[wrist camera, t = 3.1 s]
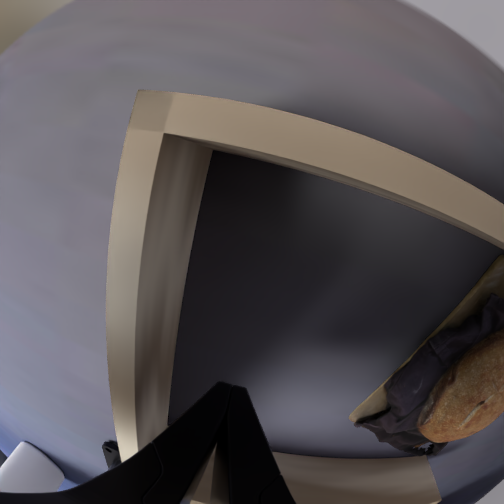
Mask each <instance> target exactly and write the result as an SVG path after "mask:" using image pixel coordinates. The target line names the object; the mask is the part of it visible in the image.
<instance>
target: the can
mask: <svg viewBox="0 0 504 504" xmlns="http://www.w3.org/2000/svg"><path fill="white" fill-rule="evenodd" d="M64 478H65V477H64V473H63V471H62V470H61V469H60V468H59V467H58V466H57V465H56V464H55V463H54V462H53V461H52V460H51V459H50V458H49V457H48V456H46V455H45V454H44V453H43V452H42V451H40V450H39V449H38V448H36V447H35V446H33V445H32V444H30V443H28V442H21V443H20V444H19V445H18V446H17V447H16V449H15V450H14V451H13V452H12V454H11V455H10V456H9V457H8V459H7V460H6V461H5V463H4V464H3V465H2V466H1V468H0V492H11V493H46V492H57V490H58V489H59V487H60V485H61V484H62V482H63V480H64Z"/></svg>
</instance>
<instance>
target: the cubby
mask: <svg viewBox="0 0 504 504" xmlns="http://www.w3.org/2000/svg"><path fill="white" fill-rule="evenodd" d="M213 150H217V151H221V152H226V153H231V154H235V155H240V156H244V157H248V158H253V159H257V160H261V161H265V162H269V163H273V164H277V165H281V166H284V167H288V168H292V169H296V170H299V171H303V172H306V173H310V174H313V175H317V176H320V177H323V178H327V179H330V180H333V181H336V182H339V183H343V184H346V185H349V186H352V187H355V188H358V189H361V190H364V191H367V192H370V193H372V194H375V195H378V196H381V197H384V198H386V199H389V200H392V201H395V202H397V203H400V204H402V205H405V206H408V207H410V208H413V209H415V210H418V211H420V212H423V213H425V214H428V215H430V216H432V217H435V218H437V219H440V220H442V221H444V222H446V223H449V224H451V225H453V226H455V227H458V228H460V229H462V230H464V231H466V232H469V233H471V234H473V235H475V236H477V237H479V238H481V239H483V240H485V241H487V242H489V243H491V244H493V245H495V246H497V247H499V248H501V249H503V250H504V204H502V203H501V202H499V201H498V200H496V199H494V198H493V197H491V196H490V195H488V194H486V193H485V192H483V191H481V190H480V189H478V188H476V187H474V186H473V185H471V184H469V183H467V182H465V181H464V180H462V179H460V178H458V177H456V176H454V175H452V174H451V173H449V172H447V171H445V170H443V169H441V168H439V167H437V166H435V165H433V164H431V163H428V162H426V161H424V160H422V159H420V158H418V157H415V156H413V155H411V154H409V153H406V152H404V151H402V150H399V149H397V148H395V147H392V146H390V145H387V144H385V143H382V142H380V141H377V140H375V139H372V138H369V137H366V136H364V135H361V134H358V133H355V132H352V131H350V130H347V129H344V128H341V127H338V126H334V125H331V124H328V123H325V122H321V121H318V120H315V119H311V118H308V117H304V116H300V115H297V114H293V113H289V112H285V111H281V110H277V109H272V108H268V107H264V106H259V105H254V104H249V103H244V102H239V101H233V100H228V99H222V98H215V97H209V96H202V95H194V94H186V93H176V92H166V91H153V90H138V91H137V95H136V98H135V102H134V105H133V109H132V113H131V117H130V121H129V125H128V129H127V133H126V137H125V142H124V146H123V151H122V156H121V161H120V166H119V172H118V178H117V183H116V190H115V196H114V203H113V211H112V219H111V228H110V238H109V249H108V263H107V284H106V340H107V360H108V374H109V385H110V394H111V403H112V410H113V418H114V424H115V430H116V436H117V442H118V447H119V452H120V457H121V461H122V462H124V461H125V460H127V459H129V458H130V457H131V456H133V455H134V454H136V453H137V452H138V451H140V450H141V449H142V448H143V447H145V446H146V445H147V444H148V443H150V442H151V441H152V440H153V439H154V438H156V437H157V436H158V435H159V434H160V433H162V432H163V431H164V430H165V429H166V428H167V427H169V426H168V425H167V422H168V410H169V400H170V390H171V380H172V372H173V363H174V355H175V347H176V340H177V333H178V326H179V319H180V312H181V306H182V299H183V293H184V287H185V281H186V275H187V269H188V264H189V258H190V253H191V248H192V242H193V237H194V232H195V227H196V222H197V217H198V213H199V208H200V203H201V198H202V194H203V189H204V185H205V181H206V176H207V172H208V168H209V163H210V159H211V155H212V151H213ZM216 444H217V443H216ZM215 449H216V446H215V448H214V451H213V454H212V456H211V458H210V460H209V463H208V465H207V467H206V469H205V472H204V474H203V476H202V478H201V481H200V483H199V485H198V487H197V489H196V492H195V494H194V496H193V498H192V500H191V502H190V504H210V495H211V485H212V475H213V466H214V456H215ZM272 453H273V455H274V458H275V460H276V462H277V465H278V467H279V469H280V471H281V474H280V475H282V476H283V478H284V480H285V482H286V485H287V487H288V489H289V491H290V493H291V495H292V497H293V498H294V500H295V502H296V503H297V504H437V503H439V502H440V501H441V500H442V499H441V496H440V493H439V490H438V487H437V484H436V481H435V479H434V476H433V473H432V470H431V468H430V465H429V462H428V460H427V457H426V455H423V456H414V457H402V458H383V459H344V458H325V457H312V456H302V455H293V454H286V453H279V452H272Z"/></svg>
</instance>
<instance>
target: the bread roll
mask: <svg viewBox="0 0 504 504" xmlns="http://www.w3.org/2000/svg"><path fill="white" fill-rule="evenodd" d="M381 411H383V413H380V414H378V413H379V412H381ZM502 412H504V255H499V256H498V258H497V259H496V260H495V261H494V262H493V264H492V265H491V266H490V267H489V269H488V270H487V271H486V272H485V273H484V274H483V276H482V277H481V278H480V280H479V281H478V282H477V284H476V285H475V286H474V287H473V288H472V289H471V291H470V292H469V293H468V294H467V295H466V296H465V298H464V299H463V300H462V301H461V302H460V303H459V305H458V306H457V307H456V308H455V309H454V310H453V311H452V312H451V313H450V314H449V316H448V317H447V318H446V319H445V320H444V321H443V322H442V323H441V324H440V325H439V326H438V328H437V329H436V330H435V331H434V332H433V333H432V334H431V335H430V336H429V337H428V338H427V339H426V340H425V341H424V342H423V343H422V344H421V345H420V346H419V348H418V349H417V350H416V351H415V352H414V353H413V354H412V355H411V356H410V357H409V358H408V359H407V360H406V361H405V362H404V363H403V364H402V365H401V366H400V367H399V368H398V369H397V370H396V371H395V372H394V373H393V374H392V375H391V376H390V377H389V378H388V379H387V380H386V381H385V382H383V383H382V384H381V385H380V386H379V387H378V388H377V389H376V390H375V391H374V392H373V393H372V394H371V395H370V396H369V397H368V398H367V399H366V400H365V401H364V402H362V403H361V404H360V405H359V406H358V407H357V408H356V409H355V410H354V411H353V412H352V413H351V414H350V416H349V419H350V420H351V421H353V422H355V423H354V425H355V427H360V426H362V427H364V428H367V429H369V430H370V431H372V432H374V433H375V434H376V436H377V437H378V439H379V442H388V443H389V444H390V445H392V446H393V447H395V448H397V449H399V450H403V451H404V452H407V453H409V454H412V455H416V456H423V455H427V456H431V455H437V454H438V453H439V452H440V451H441V450H442V449H443V448H444V447H445V446H446V445H447V443H448V442H449V441H454V440H457V439H461V438H465V437H468V436H470V435H472V434H475V433H477V432H479V431H480V430H482V429H484V428H485V427H487V426H488V425H489V424H491V423H492V422H493V421H494V420H496V419H497V418H498V417H499V416H500V414H501V413H502ZM427 442H431V443H432V444H431V445H429V446H430V447H431V448H430V447H428V450H427V451H426V452H425V451H424V450H425V449H426V448H423V449H422V447H421V448H420V449H419V450H418V447H420V446H421V445H423V444H425V443H427ZM413 447H415V448H414V449H413Z"/></svg>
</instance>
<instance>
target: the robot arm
mask: <svg viewBox="0 0 504 504" xmlns="http://www.w3.org/2000/svg"><path fill="white" fill-rule="evenodd" d="M216 443H217V444H216ZM215 446H216V449H215V456H214V466H213V475H212V485H211V495H210V504H297V503H296V502H295V500H294V498H293V497H292V495H291V493H290V491H289V489H288V487H287V485H286V482H285V480H284V478H283V476H282V475H280V474H281V471H280V469H279V467H278V465H277V462H276V460H275V458H274V455H273V453H272V451H271V448H270V446H269V444H268V441H267V439H266V436H265V434H264V431H263V429H262V427H261V424H260V422H259V419H258V417H257V414H256V412H255V409H254V407H253V404H252V401H251V399H250V396H249V394H248V391H247V389H246V388H245V387H241V386H237V385H233V386H232V385H231V384H230V383H226V382H222V381H219V382H217V383H216V384H215V385H214V386H213V387H212V388H211V389H210V390H209V391H208V392H207V393H206V394H204V395H203V396H202V397H201V398H200V399H199V400H198V401H197V402H196V403H195V404H194V405H192V406H191V407H190V408H189V409H188V410H187V411H186V412H185V413H183V414H182V415H181V416H180V417H179V418H178V419H177V420H176V421H174V422H173V423H172V424H171V425H170V426H169V427H167V428H166V429H165V430H164V431H163V432H162V433H160V434H159V435H158V436H157V437H156V438H154V439H153V440H152V441H151V442H150V443H148V444H147V445H146V446H145V447H143V448H142V449H141V450H140V451H138V452H137V453H136V454H134V455H133V456H131V457H130V458H129V459H127V460H125V461H124V462H122V461H121V457H120V452H119V447H118V446H116V445H114V444H112V443H110V442H104V444H103V445H102V449H103V452H104V456H105V459H106V462H107V465H108V468H109V469H108V471H106V472H105V473H103V474H101V475H99V476H97V477H95V478H93V479H91V480H89V481H87V482H85V483H83V484H81V485H78V486H76V487H74V488H71V489H68V490H64V491H59V492H46V493H11V492H0V504H190V502H191V500H192V498H193V496H194V494H195V492H196V489H197V487H198V485H199V483H200V481H201V478H202V476H203V474H204V472H205V469H206V467H207V465H208V463H209V460H210V458H211V456H212V454H213V451H214V448H215Z"/></svg>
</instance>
